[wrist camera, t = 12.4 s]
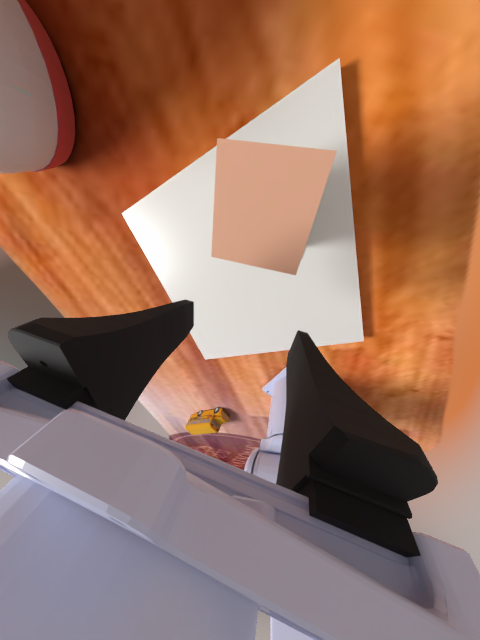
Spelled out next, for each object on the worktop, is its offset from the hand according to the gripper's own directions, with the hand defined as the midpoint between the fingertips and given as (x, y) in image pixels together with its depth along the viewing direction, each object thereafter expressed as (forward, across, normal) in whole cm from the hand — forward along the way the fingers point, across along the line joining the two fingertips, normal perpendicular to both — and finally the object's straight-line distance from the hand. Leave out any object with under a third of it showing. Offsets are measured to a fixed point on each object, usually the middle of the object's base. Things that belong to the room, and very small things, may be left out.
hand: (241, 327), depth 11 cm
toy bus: (+11, +5, +32) cm, 35 cm away
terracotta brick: (+4, 0, -7) cm, 8 cm away
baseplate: (+10, +2, 0) cm, 11 cm away
